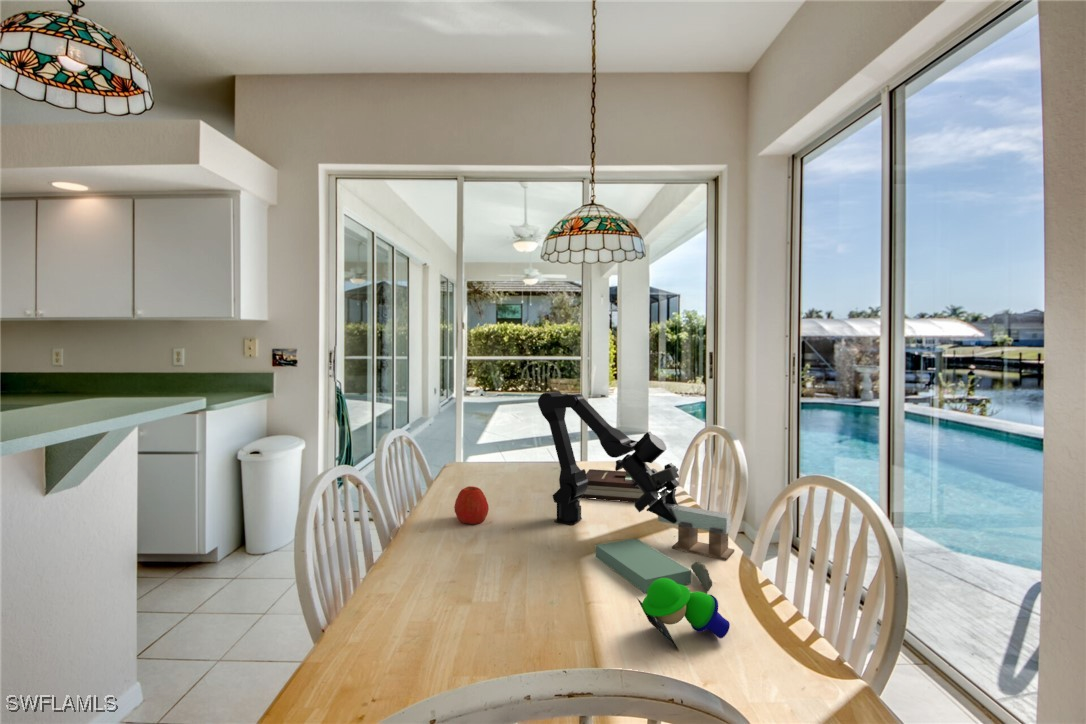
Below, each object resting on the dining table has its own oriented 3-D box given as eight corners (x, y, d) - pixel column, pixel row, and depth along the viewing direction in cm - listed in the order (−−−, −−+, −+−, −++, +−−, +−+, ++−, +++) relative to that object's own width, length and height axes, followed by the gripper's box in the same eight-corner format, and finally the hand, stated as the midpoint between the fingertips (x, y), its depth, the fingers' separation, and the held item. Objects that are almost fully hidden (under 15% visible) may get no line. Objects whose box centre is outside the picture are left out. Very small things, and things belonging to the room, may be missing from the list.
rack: (672, 548, 144) (672, 522, 143) (681, 540, 149) (681, 515, 149) (726, 560, 136) (726, 533, 135) (734, 551, 141) (734, 525, 141)
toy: (683, 643, 106) (629, 591, 105) (723, 602, 106) (669, 550, 105) (701, 673, 96) (642, 616, 95) (744, 629, 97) (686, 571, 96)
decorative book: (583, 465, 207) (665, 470, 200) (583, 485, 207) (665, 491, 200) (573, 478, 188) (663, 484, 181) (573, 500, 189) (662, 506, 181)
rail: (658, 520, 147) (658, 506, 147) (663, 517, 150) (664, 502, 150) (726, 534, 137) (726, 518, 137) (730, 529, 140) (731, 514, 140)
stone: (715, 596, 117) (716, 573, 117) (706, 596, 117) (706, 573, 117) (697, 571, 129) (697, 550, 129) (688, 571, 129) (689, 550, 129)
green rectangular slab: (595, 556, 138) (595, 544, 138) (636, 549, 143) (636, 538, 143) (645, 593, 118) (645, 579, 118) (690, 583, 123) (691, 570, 123)
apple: (451, 517, 169) (451, 483, 168) (484, 514, 172) (484, 481, 171) (457, 528, 159) (457, 492, 159) (492, 524, 162) (492, 489, 162)
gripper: (646, 461, 141) (687, 511, 135) (673, 449, 156) (711, 494, 150) (618, 487, 145) (657, 537, 140) (646, 473, 161) (683, 517, 155)
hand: (678, 520), depth 146 cm, fingers closed on rail, 4 cm apart
